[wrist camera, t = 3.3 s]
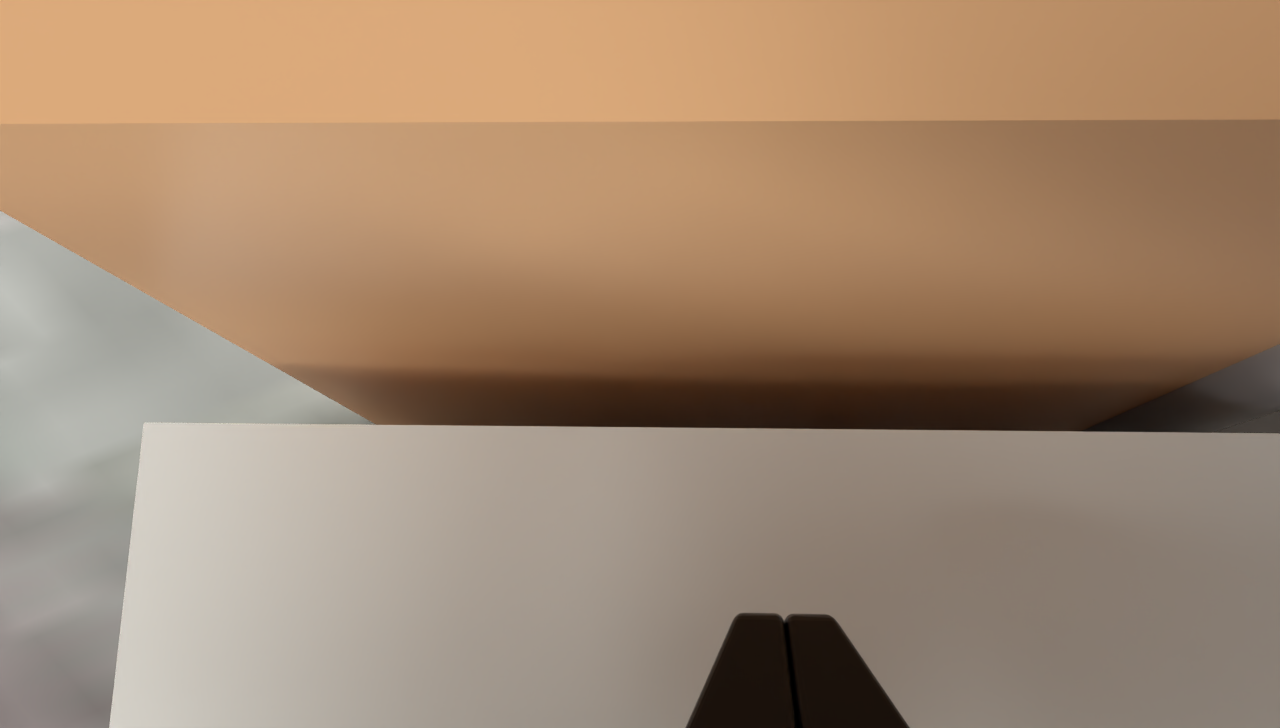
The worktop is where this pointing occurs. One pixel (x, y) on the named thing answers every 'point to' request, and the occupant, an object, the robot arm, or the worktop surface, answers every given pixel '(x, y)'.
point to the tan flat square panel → (682, 202)
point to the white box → (694, 573)
